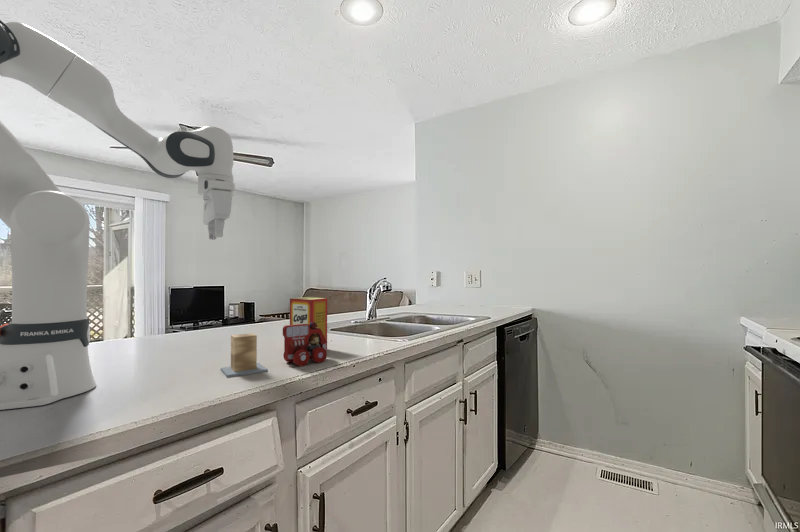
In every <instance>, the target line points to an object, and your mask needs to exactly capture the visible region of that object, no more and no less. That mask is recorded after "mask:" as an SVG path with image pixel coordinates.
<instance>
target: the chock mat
mask: <svg viewBox="0 0 800 532" xmlns="http://www.w3.org/2000/svg"><path fill="white" fill-rule="evenodd" d="M220 371H221V372H222V373H223V374H224V375H225V377H226V378H231V377H232V378H233V377H239V376H245V375H252V374H259V373H267V372H268V371H269V370H268V368H266V366H264V365H262V364H261V363H260V362H257V369H252V370H244V371H237V372H234V371H233V370H232V369H231V366H225V367H220Z"/></svg>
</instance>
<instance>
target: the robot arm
mask: <svg viewBox="0 0 800 532" xmlns="http://www.w3.org/2000/svg"><path fill="white" fill-rule="evenodd" d="M0 77H4V78H10V79H14V80H16V81H19V82H22V83H24V84H26V85H29V87H31V88H33V89H34V90H36V91H38V92H39V93H41V94H43V95H44V96H46V97H48V98H49V99H51V100H52V101H54V102H55V103H57V104H59V105H61V106H63V107H64V108H66V109H67V110H69V111H70V112H73V113H74V114H76V115H77V116H80V117H81V118H83V119H84V120H86V122H89V123H90V124H91V125H93V126H95V127H96V128H97V129H99V130H100V131H102V132H103V133H104V134H107V135H108V136H109V137H111V138H112V139H114V140H115V141H116V142H118V143H120V144H121V145H123V147H125V148H128V150H131V151H132V152H134V153H135V154H137V155H138V157H140V158H142V160H143V161H144V162H145V163H146V164H147V165H148V167H149V168H150V169H151V170H152V171H153V172H155V173H156V174H157V175H159V176H160V177H163V178H166V179H177V178H179V177H182V176H184V175H185V174H186V173H187V172H190V171H193V172H196V173H197V193H198V194H199V195H201V196H202V200H203V212H202V217H203V218H202V220H203V221H202V223H203V225H205V226H207V231H208V232H207V233H208V239H209V240H210V241H216V239H217V238H222V237H223V236H224V228H225V220H228V219H229V218H230V217H231V212H232V205H233V203H232V201H233V196H234V192H235V188H236V187H235V183H234V175H233V167H234V147H233V142H232V138H231V136H230V135H229V133H228V132H226V131H225V130H224V129H221V128H219V127H217V126H211V125H209V126H208V125H206V126H203V127H200V128H198V129H195V130H177V131H173V132H170V133H169V134H167V135H166V136H164V137H163V138H162V137H157V136H155V135H153V134H151V133H149V132H148V131H147V130H146V129H144V128H143V127H141V126H140V125H138V124H137V123H136V122H135V121H133V120H132V119H130V118H129V117H128V116H127V115H125V114H124V112H122V110H121V109H120V107H118V103H117V102H116V98H115V94H114V88H113V86H112V84H111V82H110V80H109V79H108V77H107V76H105V74H103V73H102V72H101V71H100V70H99V69H98V68H96V66H94V65H93V64H92V63H90V62H89V61H87V60H86V59H85V58H83V57H82V56H80V55H79V54H77V53H76V52H74V51H73V50H71V48H68V47H67V46H65V45H64V44H63V43H60V42H58V41H57V40H56V39H54V38H52V37H50V36H48V35H46V34H44V33H43V32H41V31H39V30H37V29H35V28H33V27H31V26H29V25H27V24H25V23H22V22H18V21H8V22H5V23H4V22H3V21H2V20H1V19H0ZM89 215H90V214H89V213H88V210H87V209H86V208H85V206H84V205H83V204H82V203H81V202H80V201H79V200H77V199H76V198H74V197H73V196H71V195H69V194H67V193H64V192H62V191H61V189H60V188H59V187H58V186H57V185H56V183H54V181H53V180H52V179H51V177H49V174H47V172H46V171H45V170H44V169H43V168H42V166H41V165H40V164H39V162H38V161H37V159H36V158H35V157H34V156H33V155H32V153H30V152H29V151H28V149H27V148H26V147H25V146H24V145H23V143H22V142H20V141H19V139H18V138H17V137H16V136H15V135H14V134H13V133H12V131H10V130H9V128H7V126H6V125H5V124H4V123H3V122H2V121H1V120H0V220H1V221H2V222H3V223H4V224H5V225H6V226H7V227H8V228H9V230H10V261H11V262H10V264H11V265H10V266H11V322H10V323H4V324H2V325H0V411H1V410H3V411H4V410H11V409H20V408H30V407H38V406H39V407H40V406H44V405H49V404H51V403H54V402H56V401H59V400H63V399H65V398H69V397H72V396H76V395H79V394H82V393H85V392H89V391H90V390H92V389H95V387H96V386H97V383H96V380H95V378H94V375H93V371H92V367H91V362H90V356H89V348H88V346H89V345H90V343H91V324H90V319H89V318H88V315H87V314H88V313H87V312H88V311H87V310H88V268H89V253H90V252H89V251H90V250H89V249H90V224H91V222H90V216H89Z"/></svg>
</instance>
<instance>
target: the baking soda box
mask: <svg viewBox="0 0 800 532" xmlns="http://www.w3.org/2000/svg"><path fill="white" fill-rule="evenodd" d="M311 322H315V323H316V324H317V327H316V328H320V329H321V330H322V332H323V335H324V337H325V339H326V341H327V342H328V298H326V297H310V296H305V297H293V298H289V325H297V324H308V325H310V323H311ZM315 334H316V333H315ZM316 335H317V334H316ZM317 344H319V343H317ZM309 345H310V344H309Z"/></svg>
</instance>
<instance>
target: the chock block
mask: <svg viewBox="0 0 800 532" xmlns="http://www.w3.org/2000/svg"><path fill="white" fill-rule="evenodd" d="M257 340H258V335H257V334H255V333H240V334H231V335H230V367H231V369H232V370H233V371H234V372H237V371H244V370H252V369H257V363H258V362H257V361H258V359H257V357H258V356H257V352H258V351H257V350H258V349H257V347H258V345H257V344H258V343H257V342H258V341H257Z"/></svg>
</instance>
